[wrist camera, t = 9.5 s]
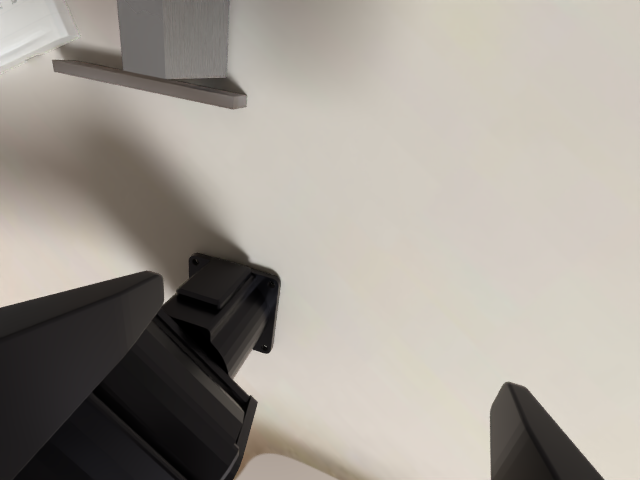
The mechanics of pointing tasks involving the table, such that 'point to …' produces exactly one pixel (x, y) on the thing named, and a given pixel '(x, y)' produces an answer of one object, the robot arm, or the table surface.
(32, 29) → the external hard drive
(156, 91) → the base
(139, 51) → the clamp jaw
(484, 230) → the table surface
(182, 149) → the table surface
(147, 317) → the robot arm
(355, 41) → the table surface
